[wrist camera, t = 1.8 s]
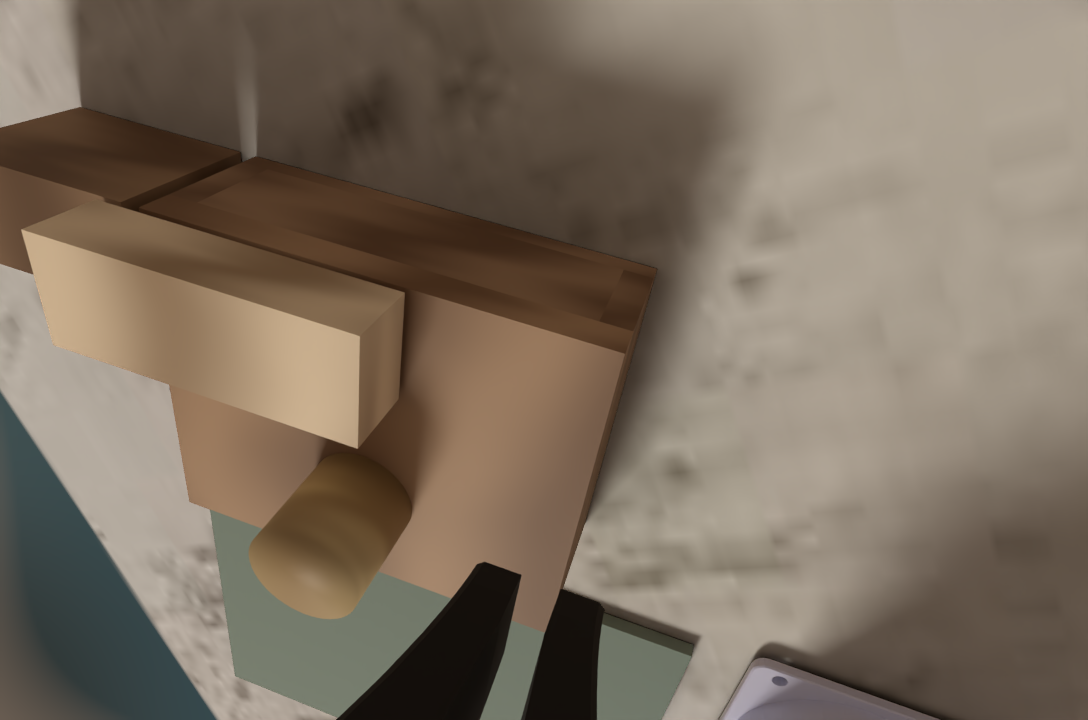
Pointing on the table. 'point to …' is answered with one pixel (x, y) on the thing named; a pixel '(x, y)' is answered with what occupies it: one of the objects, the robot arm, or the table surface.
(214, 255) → the block
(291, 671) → the mat
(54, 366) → the table surface
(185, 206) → the lid
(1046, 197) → the table surface
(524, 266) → the open wooden box
